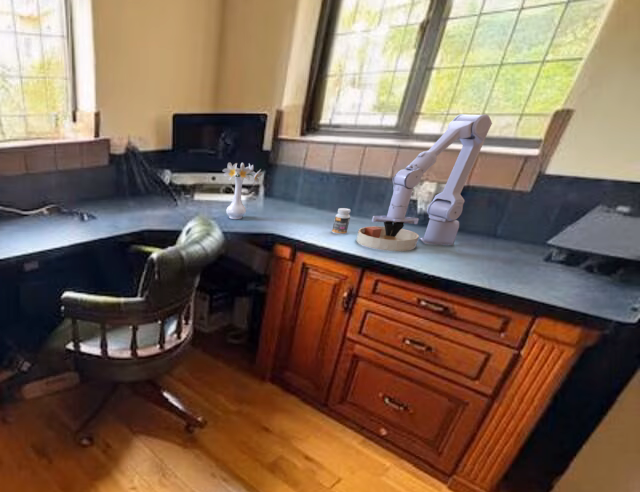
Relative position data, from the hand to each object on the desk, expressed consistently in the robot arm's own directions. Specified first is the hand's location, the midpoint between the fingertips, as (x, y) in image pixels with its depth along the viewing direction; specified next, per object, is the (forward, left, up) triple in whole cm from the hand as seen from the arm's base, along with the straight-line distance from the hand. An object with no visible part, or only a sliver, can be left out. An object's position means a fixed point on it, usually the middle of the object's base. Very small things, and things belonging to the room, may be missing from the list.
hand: (388, 241), depth 158 cm
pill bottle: (+15, -16, -2) cm, 22 cm away
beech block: (+1, +4, -1) cm, 4 cm away
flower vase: (+59, -34, -2) cm, 69 cm away
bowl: (0, -3, -2) cm, 4 cm away
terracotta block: (+4, -10, -1) cm, 11 cm away
